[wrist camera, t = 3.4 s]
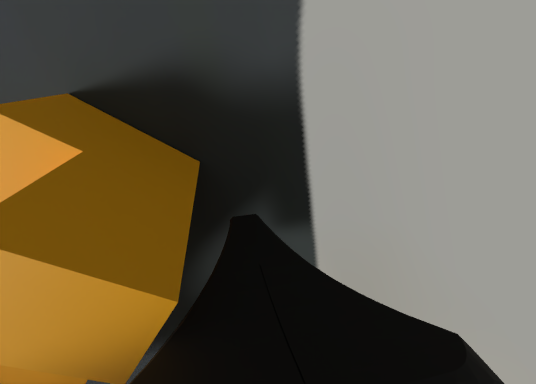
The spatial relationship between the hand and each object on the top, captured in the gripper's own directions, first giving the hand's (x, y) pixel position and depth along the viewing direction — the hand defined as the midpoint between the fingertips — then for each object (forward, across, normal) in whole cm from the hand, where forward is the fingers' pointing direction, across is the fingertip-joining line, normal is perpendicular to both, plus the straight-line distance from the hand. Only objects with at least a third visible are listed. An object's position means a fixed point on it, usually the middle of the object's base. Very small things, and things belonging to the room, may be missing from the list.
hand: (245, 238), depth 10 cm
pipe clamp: (+2, +6, +1) cm, 7 cm away
